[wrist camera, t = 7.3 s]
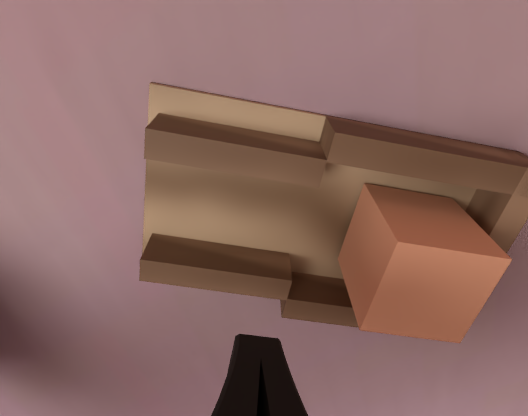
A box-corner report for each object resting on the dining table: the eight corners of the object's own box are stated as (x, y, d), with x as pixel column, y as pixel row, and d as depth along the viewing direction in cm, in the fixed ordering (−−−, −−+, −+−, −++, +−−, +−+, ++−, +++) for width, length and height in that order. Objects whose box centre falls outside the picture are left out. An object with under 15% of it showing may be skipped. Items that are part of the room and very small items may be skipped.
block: (417, 270, 23) (460, 343, 18) (337, 258, 22) (359, 330, 17) (452, 198, 20) (512, 259, 16) (364, 183, 20) (397, 241, 15)
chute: (434, 306, 25) (453, 339, 22) (143, 266, 23) (129, 297, 21) (518, 151, 20) (555, 173, 17) (151, 82, 18) (134, 95, 15)
